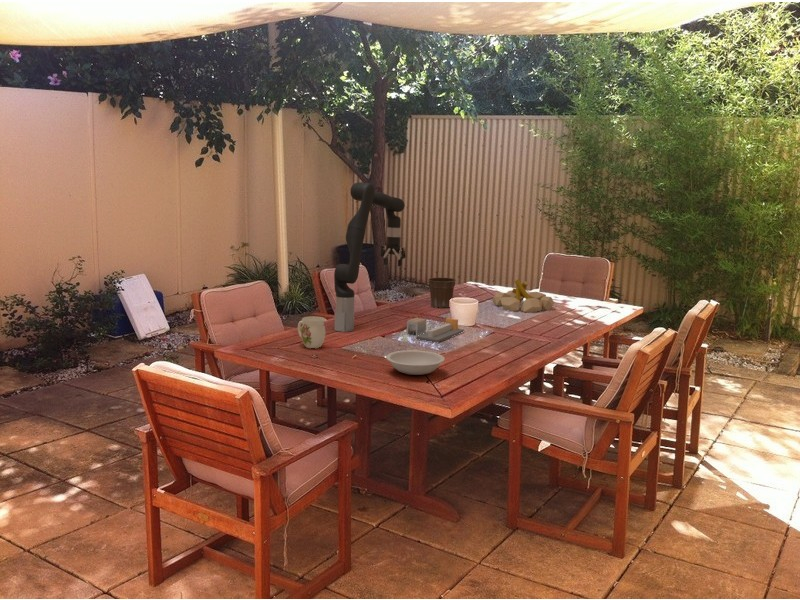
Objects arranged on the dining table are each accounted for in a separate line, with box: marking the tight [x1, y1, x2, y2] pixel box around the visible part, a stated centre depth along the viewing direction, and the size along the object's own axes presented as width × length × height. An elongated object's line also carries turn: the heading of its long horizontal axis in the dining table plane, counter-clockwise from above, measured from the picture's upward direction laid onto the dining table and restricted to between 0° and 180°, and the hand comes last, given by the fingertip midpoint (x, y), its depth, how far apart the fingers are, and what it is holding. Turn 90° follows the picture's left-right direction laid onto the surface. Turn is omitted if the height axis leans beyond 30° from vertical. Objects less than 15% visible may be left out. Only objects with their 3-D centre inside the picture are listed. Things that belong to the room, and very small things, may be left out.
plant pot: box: [427, 277, 456, 309], centre depth 461 cm, size 16×16×16 cm
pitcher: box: [297, 315, 327, 349], centre depth 358 cm, size 11×18×14 cm, turn 50°
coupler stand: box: [415, 317, 465, 343], centre depth 387 cm, size 28×12×6 cm, turn 150°
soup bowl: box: [385, 349, 446, 376], centre depth 321 cm, size 24×24×7 cm
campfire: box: [491, 279, 555, 313], centre depth 466 cm, size 35×34×17 cm
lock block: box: [406, 317, 427, 336], centre depth 390 cm, size 10×6×7 cm, turn 150°
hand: (392, 265), depth 425 cm, fingers open, 8 cm apart
